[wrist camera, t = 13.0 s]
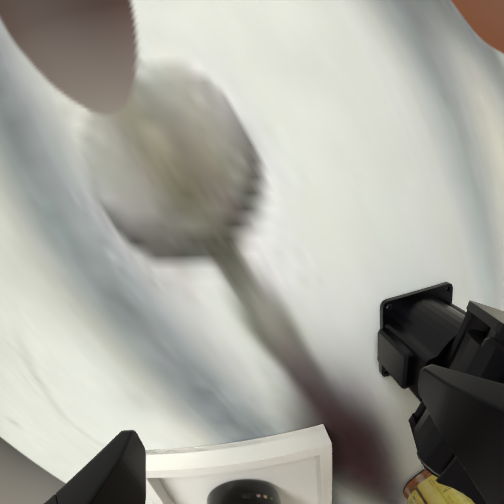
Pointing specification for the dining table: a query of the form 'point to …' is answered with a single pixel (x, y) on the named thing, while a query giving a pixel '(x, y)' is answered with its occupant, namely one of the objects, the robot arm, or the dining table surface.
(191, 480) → the tray
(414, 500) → the sauce bottle
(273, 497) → the supplement bottle
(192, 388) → the dining table surface
